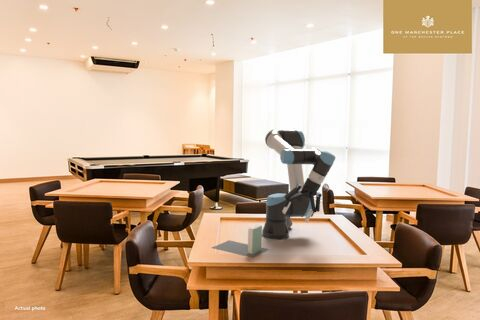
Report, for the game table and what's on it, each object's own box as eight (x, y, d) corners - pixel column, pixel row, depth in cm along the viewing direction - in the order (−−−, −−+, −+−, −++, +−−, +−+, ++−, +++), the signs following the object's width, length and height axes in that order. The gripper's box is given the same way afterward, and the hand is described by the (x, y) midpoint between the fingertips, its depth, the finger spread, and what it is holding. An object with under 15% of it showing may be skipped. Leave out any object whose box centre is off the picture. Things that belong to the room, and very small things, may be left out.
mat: (269, 249, 184) (269, 249, 184) (253, 258, 170) (253, 257, 170) (229, 241, 197) (229, 240, 197) (211, 248, 183) (211, 247, 183)
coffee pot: (291, 225, 234) (292, 202, 233) (293, 230, 223) (294, 205, 221) (257, 224, 235) (258, 200, 234) (257, 228, 224) (258, 204, 223)
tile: (261, 250, 182) (262, 226, 181) (253, 254, 175) (253, 229, 174) (255, 248, 184) (256, 225, 183) (247, 253, 177) (248, 228, 176)
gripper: (296, 174, 176) (276, 212, 181) (338, 191, 184) (317, 227, 189) (291, 169, 183) (271, 205, 188) (331, 186, 191) (312, 220, 196)
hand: (294, 217), depth 188 cm, fingers open, 13 cm apart
